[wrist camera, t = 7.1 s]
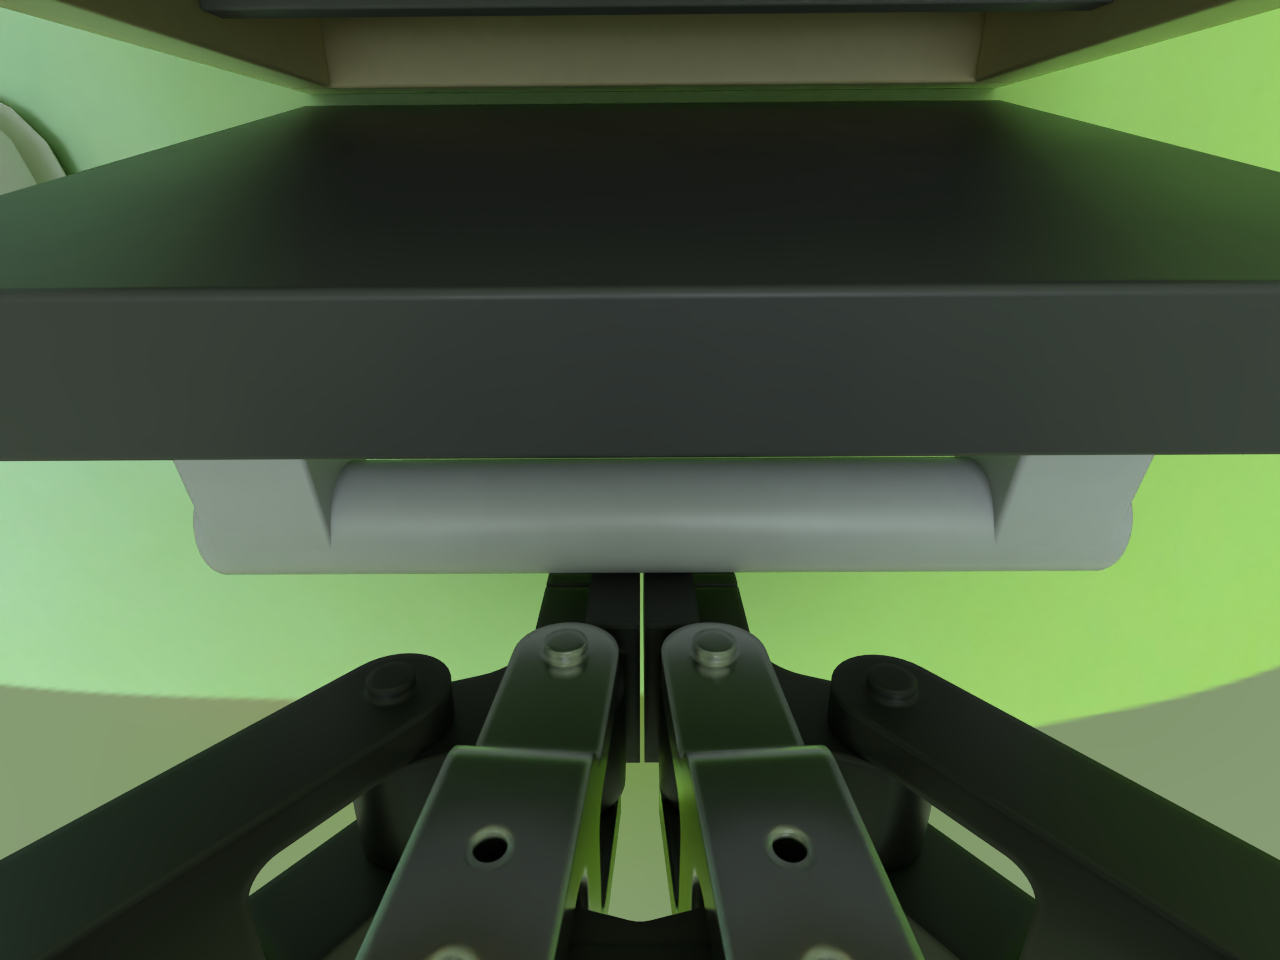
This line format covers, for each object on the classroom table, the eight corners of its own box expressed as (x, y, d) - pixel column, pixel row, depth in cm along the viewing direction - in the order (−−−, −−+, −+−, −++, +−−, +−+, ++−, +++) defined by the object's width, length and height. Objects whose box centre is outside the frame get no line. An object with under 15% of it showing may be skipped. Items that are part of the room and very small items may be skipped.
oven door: (950, 307, 19) (1351, 696, 8) (354, 311, 19) (-16, 700, 8) (1001, 99, 16) (1713, 280, 5) (302, 105, 16) (-353, 294, 5)
